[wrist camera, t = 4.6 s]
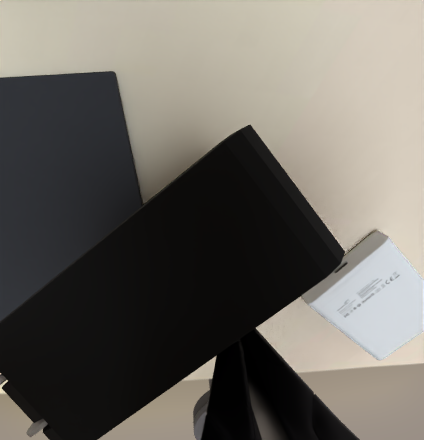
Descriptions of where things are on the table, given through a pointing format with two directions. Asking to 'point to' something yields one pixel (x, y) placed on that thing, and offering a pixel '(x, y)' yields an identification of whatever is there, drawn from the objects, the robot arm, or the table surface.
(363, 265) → the hard drive
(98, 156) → the mat
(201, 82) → the table surface
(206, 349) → the electronic device
